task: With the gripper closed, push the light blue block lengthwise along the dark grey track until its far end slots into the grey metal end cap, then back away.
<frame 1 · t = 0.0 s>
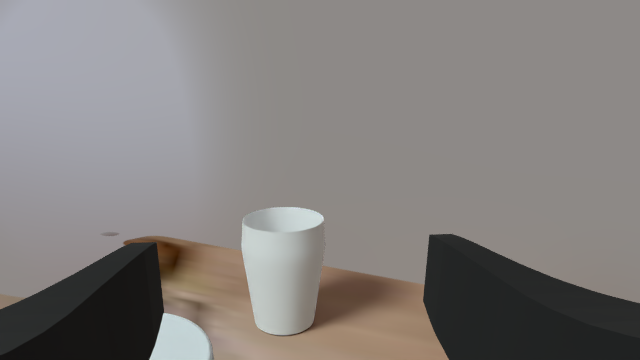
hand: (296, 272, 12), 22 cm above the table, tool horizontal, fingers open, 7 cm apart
cup: (284, 321, 51), on the table
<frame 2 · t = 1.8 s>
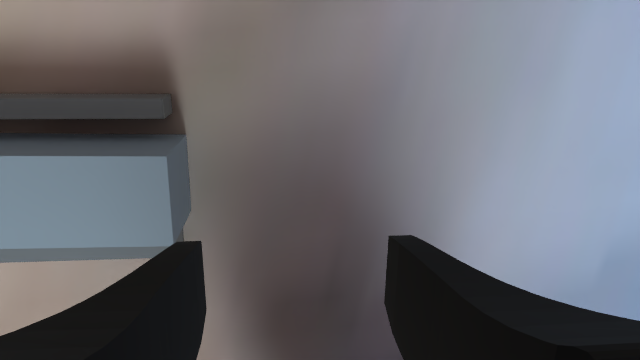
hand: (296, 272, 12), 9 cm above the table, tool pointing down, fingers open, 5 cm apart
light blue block: (52, 171, 20), resting in track
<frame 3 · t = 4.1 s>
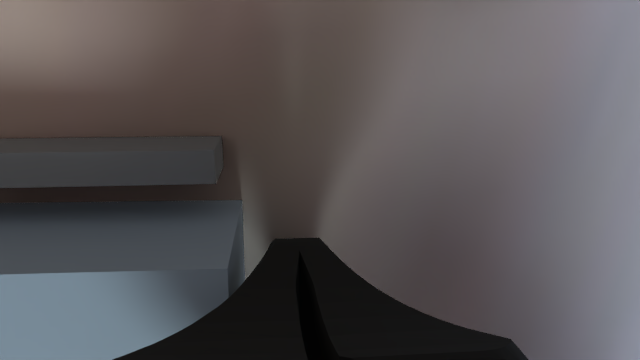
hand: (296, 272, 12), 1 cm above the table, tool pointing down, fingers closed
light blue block: (25, 261, 12), resting in track, touching gripper
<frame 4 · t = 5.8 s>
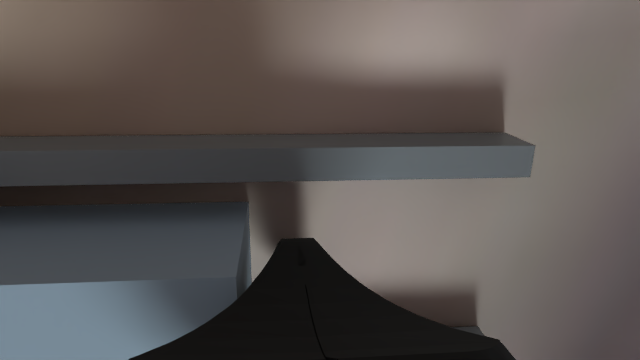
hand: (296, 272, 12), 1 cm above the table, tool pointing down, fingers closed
track: (177, 258, 12), on the table
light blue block: (27, 267, 12), resting in track, touching gripper
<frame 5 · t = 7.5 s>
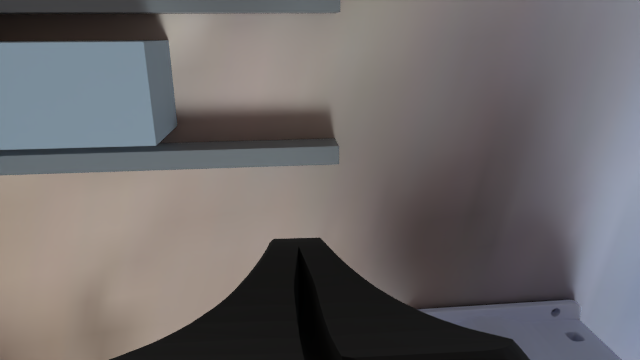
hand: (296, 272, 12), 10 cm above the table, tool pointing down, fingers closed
track: (123, 81, 19), on the table
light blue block: (28, 85, 19), resting in track
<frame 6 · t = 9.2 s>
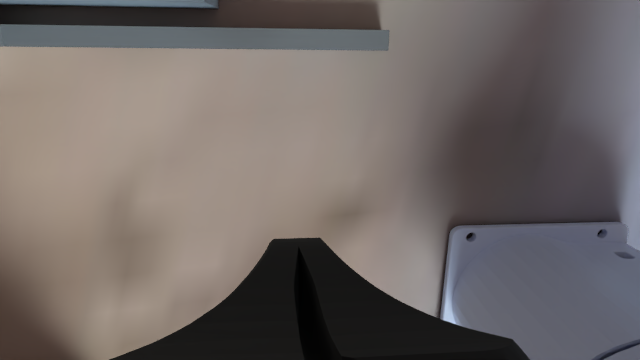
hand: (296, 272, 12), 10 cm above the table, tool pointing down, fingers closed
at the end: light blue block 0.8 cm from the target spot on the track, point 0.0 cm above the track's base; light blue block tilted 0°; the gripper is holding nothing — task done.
